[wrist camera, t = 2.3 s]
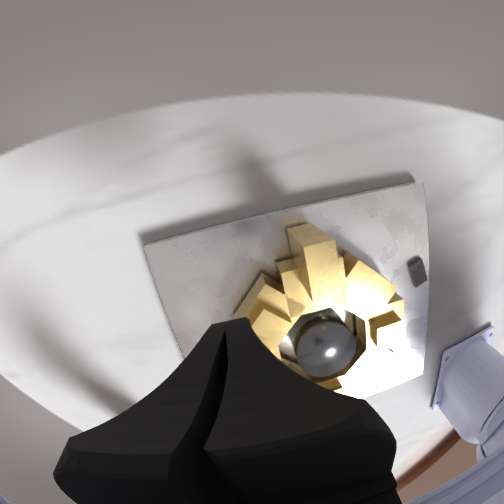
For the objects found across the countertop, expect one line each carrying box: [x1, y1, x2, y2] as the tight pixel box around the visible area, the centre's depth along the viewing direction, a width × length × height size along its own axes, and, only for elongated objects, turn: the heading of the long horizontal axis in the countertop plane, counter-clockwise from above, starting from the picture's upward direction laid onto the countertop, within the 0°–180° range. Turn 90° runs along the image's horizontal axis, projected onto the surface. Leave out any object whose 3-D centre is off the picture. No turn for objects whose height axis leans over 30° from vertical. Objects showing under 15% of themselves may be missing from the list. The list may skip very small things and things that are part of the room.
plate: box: [143, 182, 429, 399], centre depth 20 cm, size 18×20×4 cm
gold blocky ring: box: [232, 223, 404, 397], centre depth 18 cm, size 14×12×5 cm
